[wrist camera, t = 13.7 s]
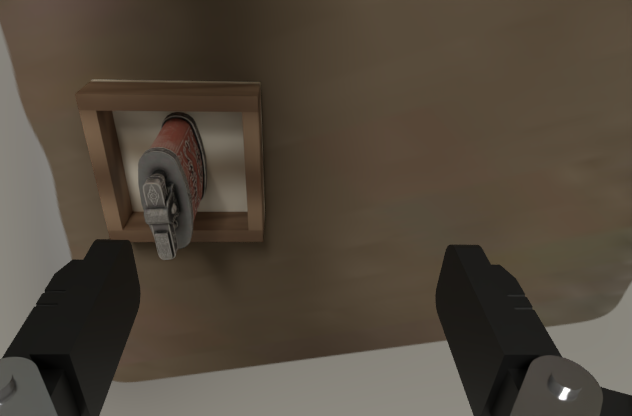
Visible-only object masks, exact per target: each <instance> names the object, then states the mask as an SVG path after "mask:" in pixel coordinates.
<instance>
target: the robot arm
mask: <svg viewBox="0 0 632 416" xmlns="http://www.w3.org/2000/svg"><path fill="white" fill-rule="evenodd" d="M139 304H140V284H139V279H138V274H137V269H136V264H135V259H134V254H133V249H132V245H131V243H130V241H129V240H109V239H97V240H95V241H94V242H93V244H92V246H91V247H90V249H89V251H88V253H87V254H86V256H85V258H84V260H72V261H70V262H69V263H68V264H67V265H65V266H64V267H63V268H61V269H60V270H59V271H58V272H57V273H55V274H54V276H53V278H52V279H51V281H50V282H49V284H48V286H47V287H46V289H45V293H43V294H42V295H41V297H40V298H39V300H38V301H37V303H36V307H34V308H33V310H32V311H31V313H30V314H29V316H28V317H27V319H26V321H25V322H24V324H23V325H22V327H21V329H20V331H19V332H18V333H17V335H16V337H15V338H14V340H13V342H12V343H11V345H10V346H9V348H8V349H7V351H6V353H5V354H4V356H3V357H2V359H0V416H99V414H100V412H101V409H102V406H103V404H104V401H105V398H106V396H107V393H108V390H109V388H110V385H111V382H112V380H113V377H114V374H115V371H116V369H117V366H118V363H119V361H120V358H121V355H122V353H123V350H124V347H125V344H126V342H127V339H128V336H129V334H130V331H131V328H132V326H133V323H134V320H135V317H136V315H137V312H138V309H139ZM436 309H437V313H438V316H439V319H440V322H441V324H442V327H443V330H444V333H445V336H446V339H447V341H448V344H449V347H450V350H451V353H452V355H453V358H454V361H455V364H456V367H457V369H458V372H459V375H460V378H461V381H462V384H463V386H464V390H465V392H466V395H467V398H468V401H469V404H470V406H471V409H472V412H473V415H474V416H632V396H631V395H628V394H624V393H620V392H616V391H612V390H609V389H606V388H602V387H600V386H599V384H598V382H597V381H596V379H595V378H594V377H593V376H592V375H591V374H590V373H589V372H588V371H587V370H585V369H584V368H583V367H582V366H580V365H579V364H577V363H575V362H573V361H571V360H569V359H566V358H563V357H562V356H561V354H560V353H559V351H558V349H557V348H556V346H555V344H554V343H553V341H552V339H551V337H550V336H549V334H548V332H547V331H546V329H545V327H544V326H543V324H542V322H541V320H540V319H539V317H538V315H537V314H536V312H535V310H532V305H531V304H530V302H529V300H528V298H527V297H525V293H524V292H523V290H522V288H521V287H520V285H519V283H518V282H517V280H516V278H515V277H513V276H512V275H511V274H510V273H509V272H508V271H506V270H505V269H504V268H503V267H502V266H501V265H491V264H490V262H489V260H488V259H487V257H486V255H485V253H484V251H483V249H482V248H481V247H480V246H479V245H449V246H448V247H447V249H446V252H445V256H444V260H443V264H442V268H441V272H440V276H439V280H438V284H437V288H436Z"/></svg>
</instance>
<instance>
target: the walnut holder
mask: <svg viewBox="0 0 632 416" xmlns="http://www.w3.org/2000/svg"><path fill="white" fill-rule="evenodd" d="M75 96H76V101H77V105H78V109H79V113H80V117H81V121H82V125H83V129H84V134H85V138H86V142H87V146H88V150H89V154H90V158H91V163H92V167H93V171H94V175H95V179H96V183H97V187H98V191H99V196H100V200H101V204H102V208H103V212H104V216H105V220H106V224H107V229H108V233H109V237H110V240H129V241H130V242H155V239H154V235H153V233H152V231H151V229H150V227H149V225H148V224H146V222H145V219H144V210H143V207H142V204H141V198H140V191H139V185H138V162H139V159H140V158H141V156H142V155H143V153H144V152H145V151H146V150H148V149H150V147H151V145H152V144H153V142H154V140H155V139H156V137H157V135H158V134H159V132H160V130H161V125H162V122H163V121H164V119H165V118H166V116H167V115H169V114H171V113H173V112H184V113H186V114H189V115H190V116H191V117H192V118H193V119H194V120H195V122H196V124H197V127H198V130H199V133H200V135H201V138H202V142H203V146H204V150H205V154H206V162H207V188H206V192H205V195H204V198H203V199H202V200H201V201H200V203H199V207H198V210H197V213H196V216H195V219H194V222H193V234H192V237H191V240H190V242H263V238H264V227H265V201H264V171H263V142H262V113H261V83H260V82H233V81H162V80H91V81H90V82H89V83H88V84H86V85H85V86H84V87H83V88H82V89H81V90H79V91H78V92H77V93H76V94H75Z"/></svg>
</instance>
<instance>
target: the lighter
mask: <svg viewBox="0 0 632 416" xmlns="http://www.w3.org/2000/svg"><path fill="white" fill-rule="evenodd" d="M138 185H139V191H140V198H141V204H142V207H143V210H144V219H145V222H146V224H148V225H149V227H150V229H151V231H152V233H153V235H154V239H155V243H156V247H157V251H158V255H159V257H160V258H161V259H166V260H167V259H173V258H175V256H176V253H177V250H178V249H182V248H184V247H186V246H187V245H188V244H189V243H190V240H191V237H192V234H193V222H194V219H195V216H196V213H197V210H198V207H199V203H200V201H201V200H202V199H203V198H204V195H205V192H206V188H207V162H206V154H205V150H204V146H203V142H202V138H201V135H200V133H199V130H198V127H197V124H196V122H195V120H194V119H193V118H192V117H191V116H190V115H189V114H186V113H184V112H173V113H171V114H169V115H167V116H166V118H165V119H164V121H163V122H162V125H161V130H160V132H159V134H158V135H157V137H156V139H155V140H154V142H153V144H152V145H151V147H150V149H148V150H146V151H145V152H144V153H143V155H142V156H141V158H140V159H139V162H138Z"/></svg>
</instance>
